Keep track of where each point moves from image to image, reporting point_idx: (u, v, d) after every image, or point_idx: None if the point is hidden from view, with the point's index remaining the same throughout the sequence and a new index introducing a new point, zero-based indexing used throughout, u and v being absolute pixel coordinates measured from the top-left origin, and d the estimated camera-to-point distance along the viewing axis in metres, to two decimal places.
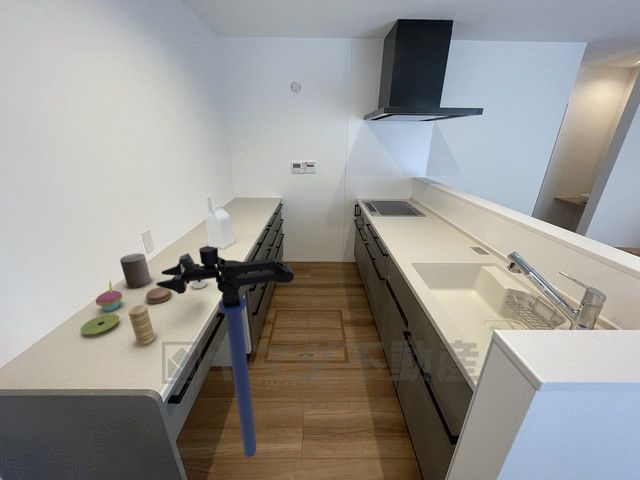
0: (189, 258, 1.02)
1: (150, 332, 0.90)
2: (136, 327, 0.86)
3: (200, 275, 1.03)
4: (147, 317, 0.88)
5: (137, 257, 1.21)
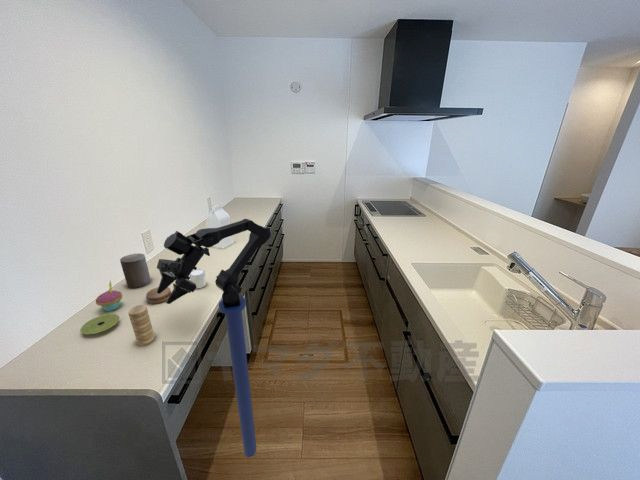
0: (166, 261, 0.90)
1: (150, 332, 0.90)
2: (136, 327, 0.86)
3: (191, 263, 0.94)
4: (147, 317, 0.88)
5: (137, 257, 1.21)
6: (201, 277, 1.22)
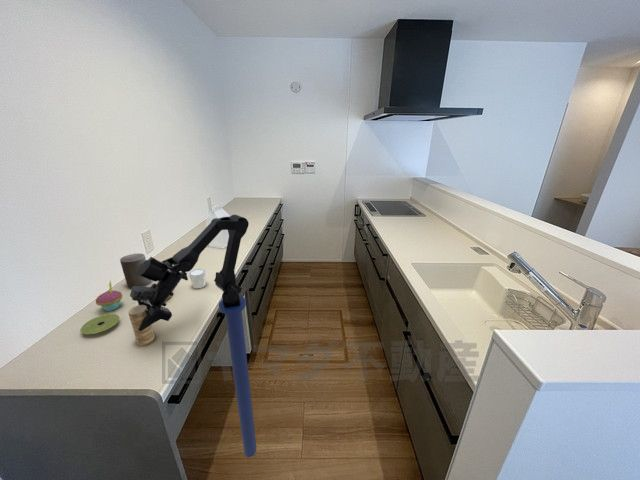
0: (139, 289, 0.86)
1: (150, 332, 0.90)
2: (136, 327, 0.86)
3: (167, 290, 0.90)
4: None
5: (137, 257, 1.21)
6: (201, 277, 1.22)
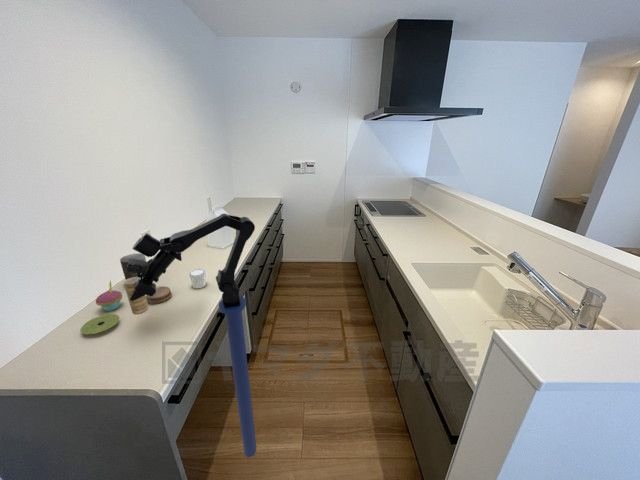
0: (134, 261, 0.92)
1: (142, 304, 0.96)
2: (129, 296, 0.93)
3: (158, 267, 0.93)
4: None
5: (137, 257, 1.21)
6: (201, 277, 1.22)
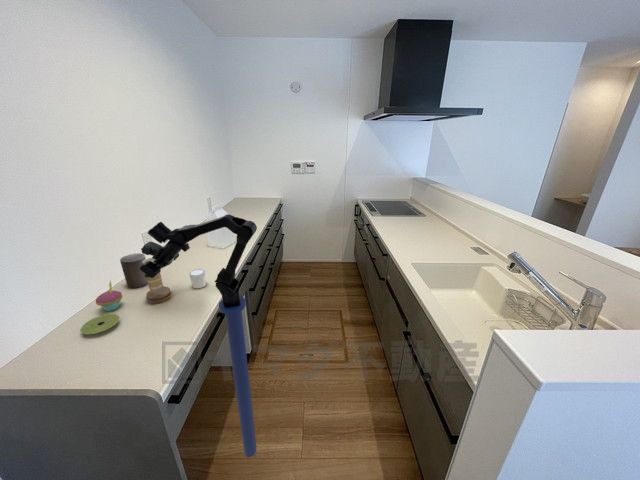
0: (150, 244, 1.05)
1: (154, 282, 1.09)
2: None
3: (165, 253, 1.03)
4: None
5: (137, 257, 1.21)
6: (201, 277, 1.22)
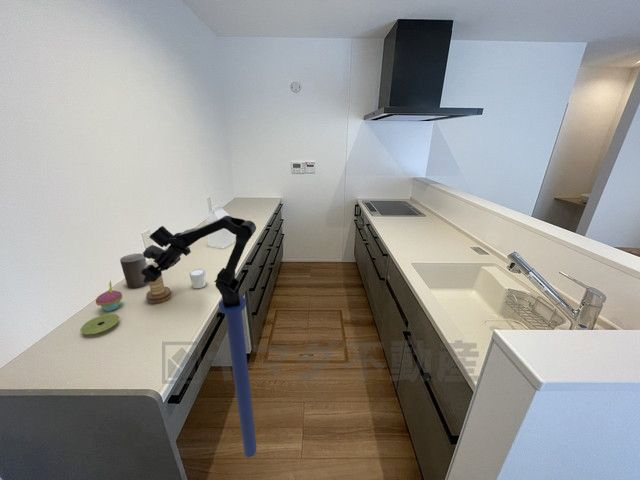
0: (152, 248, 1.06)
1: (156, 287, 1.10)
2: None
3: (166, 257, 1.04)
4: None
5: (137, 257, 1.21)
6: (201, 277, 1.22)
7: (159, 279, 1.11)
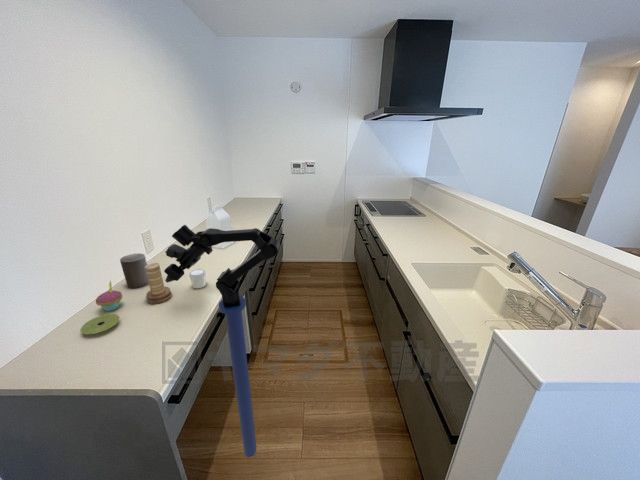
0: (174, 247, 1.05)
1: (156, 287, 1.10)
2: None
3: (189, 256, 1.04)
4: (155, 274, 1.09)
5: (137, 257, 1.21)
6: (201, 277, 1.22)
7: (159, 279, 1.11)
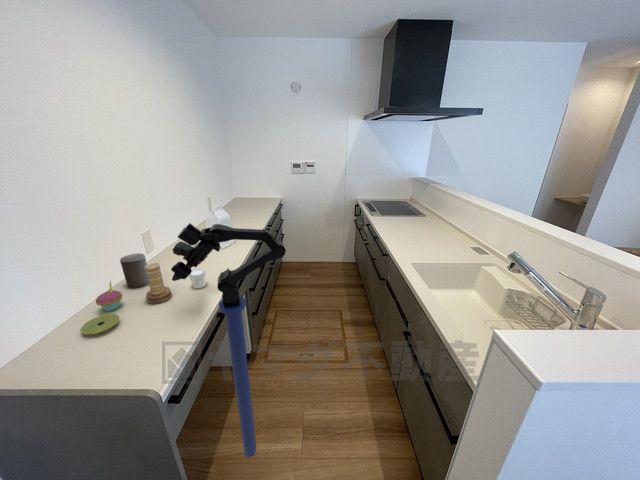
0: (181, 245, 1.03)
1: (156, 287, 1.10)
2: None
3: (196, 254, 1.01)
4: (155, 274, 1.09)
5: (137, 257, 1.21)
6: (201, 277, 1.22)
7: (159, 279, 1.11)
